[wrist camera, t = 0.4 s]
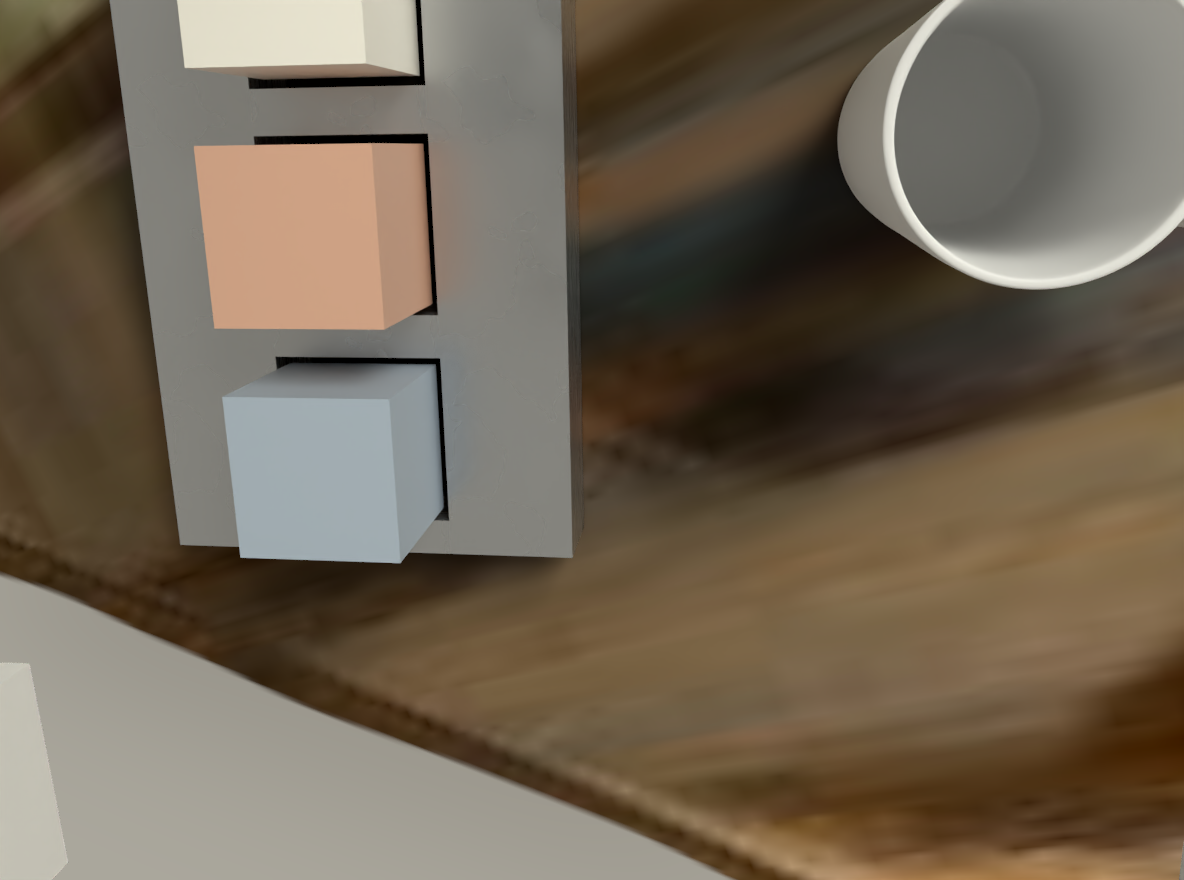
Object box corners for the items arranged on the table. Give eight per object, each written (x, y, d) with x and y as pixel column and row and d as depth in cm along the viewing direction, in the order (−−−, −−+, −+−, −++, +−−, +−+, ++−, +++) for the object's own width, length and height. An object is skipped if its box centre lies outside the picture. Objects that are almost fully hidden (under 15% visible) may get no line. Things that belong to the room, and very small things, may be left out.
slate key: (290, 362, 35) (222, 396, 30) (435, 364, 34) (389, 399, 29) (304, 503, 36) (240, 557, 31) (444, 507, 36) (400, 563, 31)
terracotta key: (270, 146, 33) (193, 146, 28) (423, 143, 32) (371, 143, 28) (285, 303, 34) (214, 328, 30) (432, 303, 34) (384, 329, 29)
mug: (793, 197, 34) (829, 222, 22) (881, -14, 32) (969, -104, 20) (1083, 307, 34) (1269, 391, 22) (1189, 103, 32) (1453, 78, 20)
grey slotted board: (144, -125, 34) (90, -150, 31) (572, -146, 32) (557, -175, 29) (219, 516, 40) (180, 544, 37) (584, 526, 38) (572, 557, 35)
